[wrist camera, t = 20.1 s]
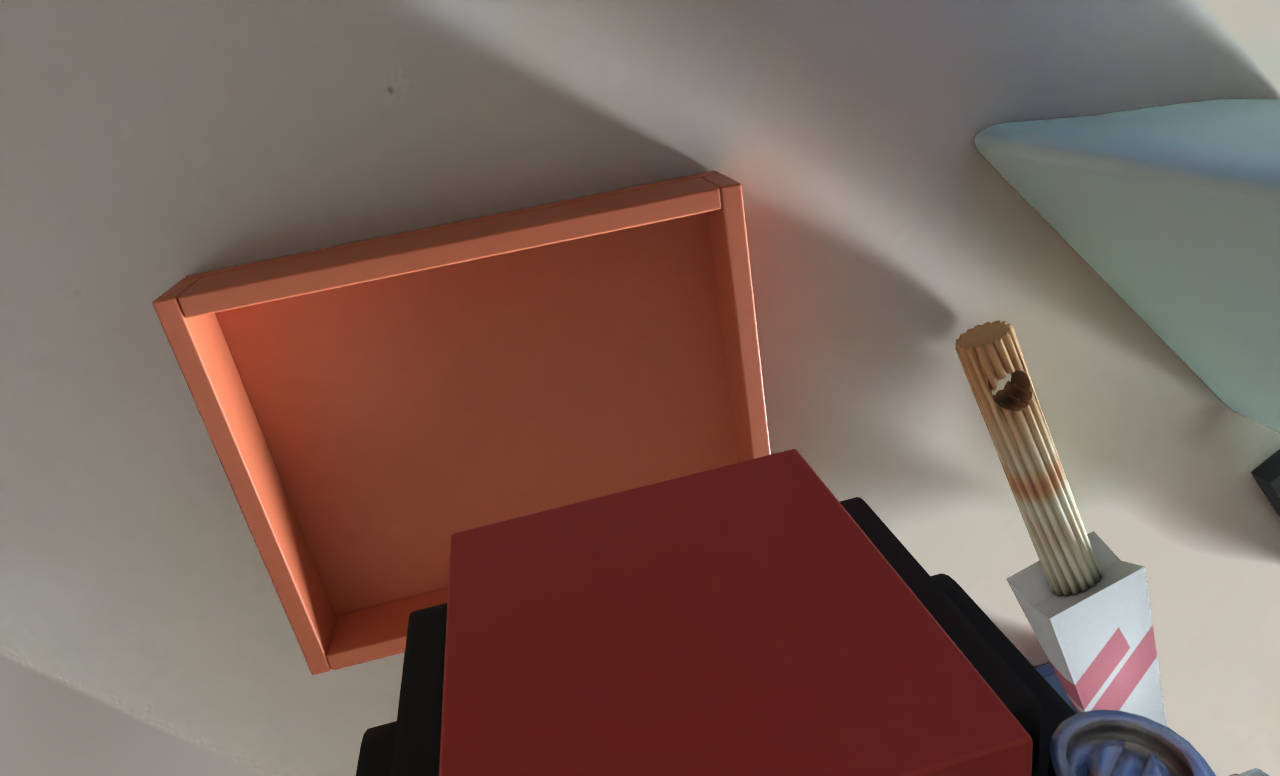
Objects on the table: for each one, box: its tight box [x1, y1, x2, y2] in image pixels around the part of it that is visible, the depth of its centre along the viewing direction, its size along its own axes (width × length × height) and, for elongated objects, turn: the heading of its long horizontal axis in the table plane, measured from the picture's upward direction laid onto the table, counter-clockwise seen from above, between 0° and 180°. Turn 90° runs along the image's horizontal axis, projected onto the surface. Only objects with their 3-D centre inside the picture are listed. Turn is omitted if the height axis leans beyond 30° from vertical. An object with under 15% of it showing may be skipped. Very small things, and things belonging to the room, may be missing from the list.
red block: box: [439, 449, 1033, 776], centre depth 9 cm, size 5×5×5 cm
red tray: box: [153, 171, 771, 675], centre depth 24 cm, size 15×12×3 cm
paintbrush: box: [955, 321, 1167, 727], centre depth 30 cm, size 4×3×20 cm
